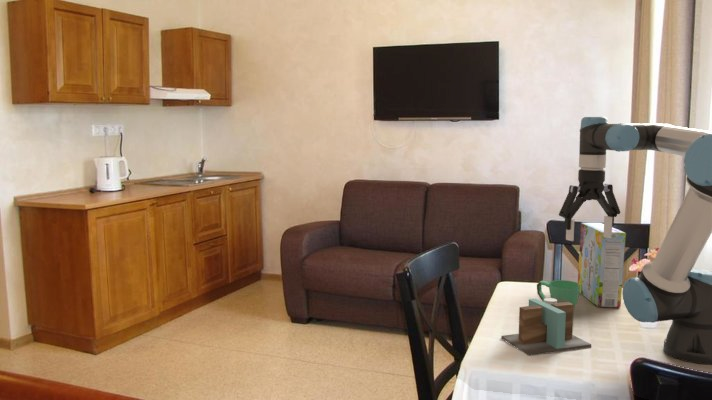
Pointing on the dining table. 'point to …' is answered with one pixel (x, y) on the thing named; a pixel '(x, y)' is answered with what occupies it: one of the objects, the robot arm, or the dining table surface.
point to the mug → (560, 291)
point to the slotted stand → (542, 331)
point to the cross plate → (552, 323)
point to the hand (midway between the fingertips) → (588, 239)
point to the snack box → (601, 265)
